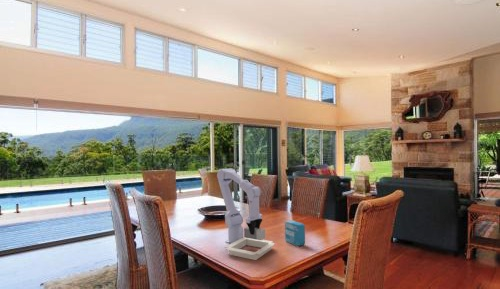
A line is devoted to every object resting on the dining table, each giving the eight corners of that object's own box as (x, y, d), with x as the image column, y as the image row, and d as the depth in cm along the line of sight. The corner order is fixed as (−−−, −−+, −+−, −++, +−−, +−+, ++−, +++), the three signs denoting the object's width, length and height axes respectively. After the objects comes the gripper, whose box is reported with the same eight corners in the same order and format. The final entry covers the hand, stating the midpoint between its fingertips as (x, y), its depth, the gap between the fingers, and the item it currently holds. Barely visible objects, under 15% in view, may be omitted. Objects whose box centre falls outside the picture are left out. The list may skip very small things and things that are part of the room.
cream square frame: (244, 242, 169) (244, 236, 169) (277, 248, 159) (277, 242, 159) (222, 255, 150) (221, 248, 150) (257, 262, 139) (257, 255, 139)
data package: (285, 241, 170) (284, 221, 171) (290, 239, 173) (290, 219, 173) (299, 246, 161) (299, 225, 161) (305, 245, 163) (305, 224, 164)
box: (248, 235, 165) (248, 226, 165) (265, 238, 159) (265, 229, 159) (244, 237, 161) (244, 228, 161) (261, 240, 155) (261, 231, 155)
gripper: (253, 212, 152) (254, 237, 152) (266, 206, 164) (266, 230, 164) (242, 210, 155) (242, 235, 155) (255, 205, 168) (256, 229, 168)
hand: (254, 233), depth 160 cm, fingers closed on box, 4 cm apart
